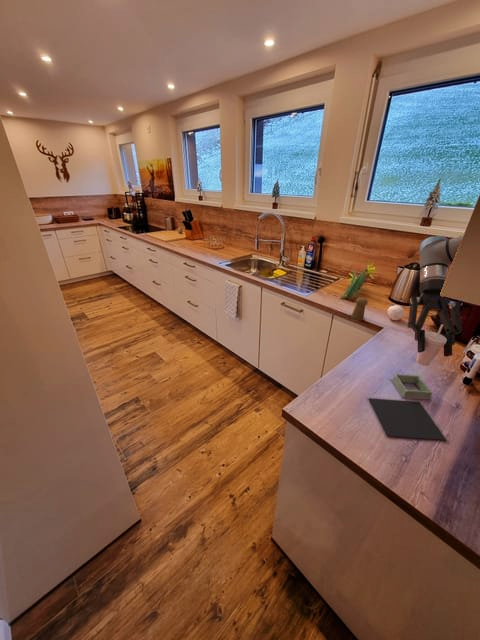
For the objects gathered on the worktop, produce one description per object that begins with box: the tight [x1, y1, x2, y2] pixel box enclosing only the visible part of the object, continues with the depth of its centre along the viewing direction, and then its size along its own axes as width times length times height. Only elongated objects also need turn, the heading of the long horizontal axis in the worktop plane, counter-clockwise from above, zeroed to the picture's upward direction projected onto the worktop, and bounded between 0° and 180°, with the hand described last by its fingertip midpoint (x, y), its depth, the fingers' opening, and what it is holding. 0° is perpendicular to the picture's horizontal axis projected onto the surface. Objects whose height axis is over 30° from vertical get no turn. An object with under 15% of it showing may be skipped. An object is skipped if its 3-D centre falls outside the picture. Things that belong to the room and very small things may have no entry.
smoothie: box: [415, 323, 447, 367], centre depth 80 cm, size 6×6×14 cm
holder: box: [391, 373, 433, 400], centre depth 90 cm, size 8×8×3 cm
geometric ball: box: [386, 304, 406, 321], centre depth 134 cm, size 8×8×8 cm
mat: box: [368, 398, 447, 442], centre depth 79 cm, size 16×14×1 cm
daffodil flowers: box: [341, 261, 377, 301], centre depth 164 cm, size 17×15×35 cm
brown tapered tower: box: [350, 296, 368, 322], centre depth 133 cm, size 6×6×11 cm
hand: (434, 353), depth 78 cm, fingers closed on smoothie, 6 cm apart
